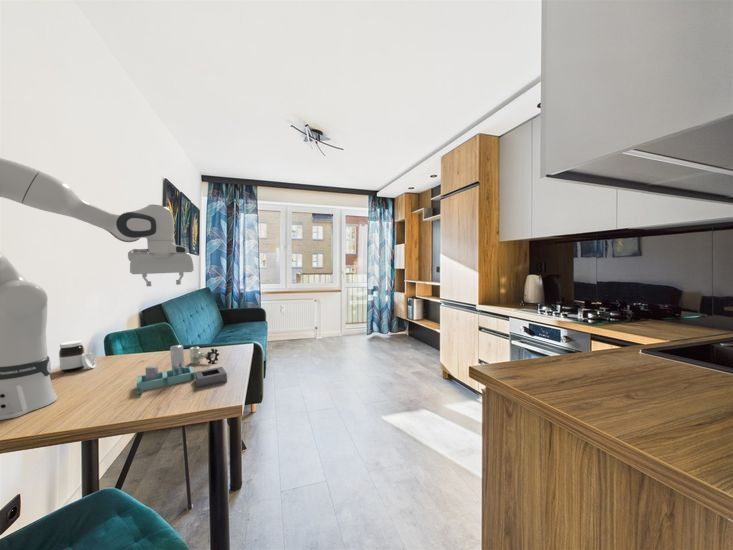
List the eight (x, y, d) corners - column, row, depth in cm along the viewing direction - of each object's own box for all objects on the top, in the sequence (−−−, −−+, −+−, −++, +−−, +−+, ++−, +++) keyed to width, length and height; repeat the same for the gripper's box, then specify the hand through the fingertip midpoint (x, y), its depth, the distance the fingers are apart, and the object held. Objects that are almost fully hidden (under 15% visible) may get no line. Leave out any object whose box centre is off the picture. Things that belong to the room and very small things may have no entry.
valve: (185, 364, 134) (208, 366, 131) (184, 349, 134) (207, 351, 130) (197, 360, 140) (219, 361, 137) (196, 345, 140) (219, 346, 137)
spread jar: (60, 369, 132) (59, 342, 132) (96, 362, 140) (94, 337, 139) (59, 376, 123) (57, 347, 123) (97, 369, 131) (95, 341, 131)
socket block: (198, 391, 105) (197, 379, 105) (195, 382, 113) (194, 371, 112) (227, 384, 110) (226, 373, 110) (222, 377, 118) (222, 366, 117)
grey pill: (173, 381, 112) (170, 348, 111) (172, 378, 115) (169, 346, 114) (185, 378, 114) (183, 346, 113) (184, 375, 117) (182, 344, 117)
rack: (137, 394, 104) (135, 373, 104) (138, 385, 111) (137, 366, 111) (195, 382, 113) (194, 363, 113) (192, 374, 121) (191, 357, 121)
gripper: (126, 248, 110) (129, 287, 110) (193, 248, 121) (194, 284, 122) (128, 249, 115) (130, 286, 116) (191, 249, 126) (193, 283, 127)
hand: (164, 285), depth 119 cm, fingers open, 8 cm apart
